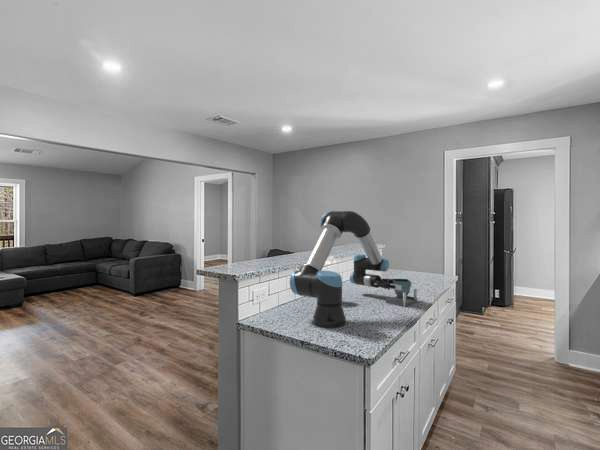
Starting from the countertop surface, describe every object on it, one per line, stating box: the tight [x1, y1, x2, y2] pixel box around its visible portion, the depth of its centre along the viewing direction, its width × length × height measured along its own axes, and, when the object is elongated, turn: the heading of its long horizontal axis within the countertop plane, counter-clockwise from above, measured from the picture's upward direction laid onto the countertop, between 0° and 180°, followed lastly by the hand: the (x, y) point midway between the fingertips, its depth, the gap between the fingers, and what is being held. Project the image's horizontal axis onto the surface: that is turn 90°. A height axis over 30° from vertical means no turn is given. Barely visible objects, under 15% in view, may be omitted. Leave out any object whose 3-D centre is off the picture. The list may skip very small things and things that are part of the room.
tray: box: [385, 288, 418, 307], centre depth 186 cm, size 15×12×8 cm
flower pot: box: [392, 278, 412, 296], centre depth 186 cm, size 9×9×9 cm
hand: (406, 286), depth 184 cm, fingers closed on flower pot, 11 cm apart
